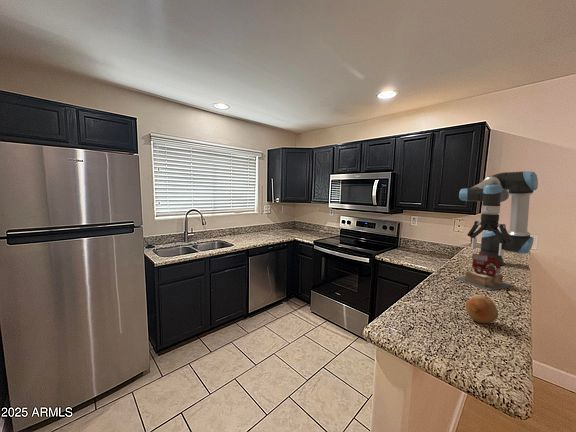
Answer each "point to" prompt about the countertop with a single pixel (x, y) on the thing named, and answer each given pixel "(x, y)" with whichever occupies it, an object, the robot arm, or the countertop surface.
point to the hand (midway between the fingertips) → (486, 252)
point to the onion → (481, 309)
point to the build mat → (503, 285)
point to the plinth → (483, 279)
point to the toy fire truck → (485, 264)
